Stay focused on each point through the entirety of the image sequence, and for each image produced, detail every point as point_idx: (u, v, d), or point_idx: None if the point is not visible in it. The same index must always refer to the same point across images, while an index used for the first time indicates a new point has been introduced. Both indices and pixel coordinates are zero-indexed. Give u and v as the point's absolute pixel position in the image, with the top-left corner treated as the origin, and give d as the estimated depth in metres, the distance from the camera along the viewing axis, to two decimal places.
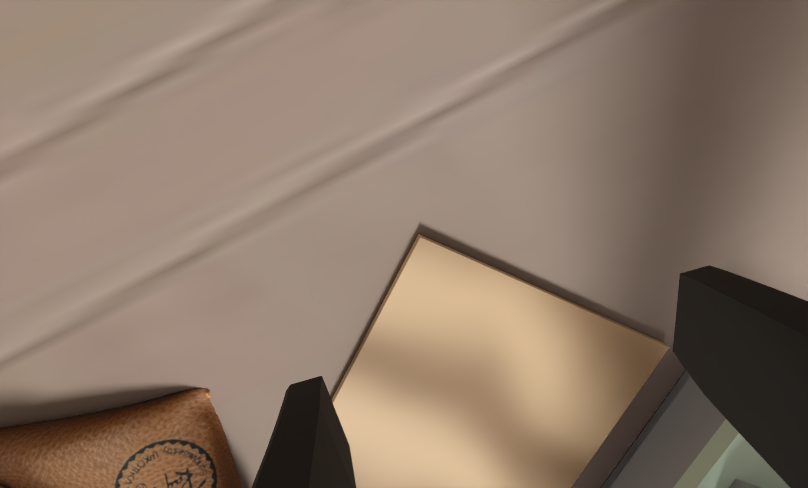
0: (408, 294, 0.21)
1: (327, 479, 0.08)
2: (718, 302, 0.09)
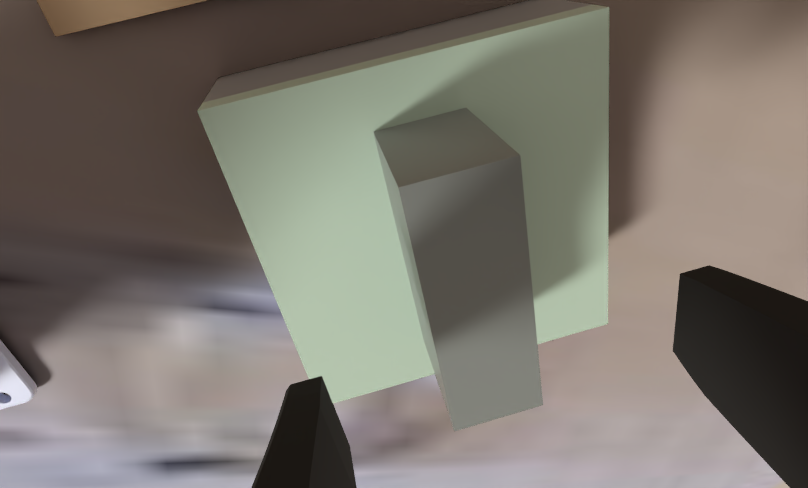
0: None
1: (327, 479, 0.08)
2: (718, 302, 0.09)
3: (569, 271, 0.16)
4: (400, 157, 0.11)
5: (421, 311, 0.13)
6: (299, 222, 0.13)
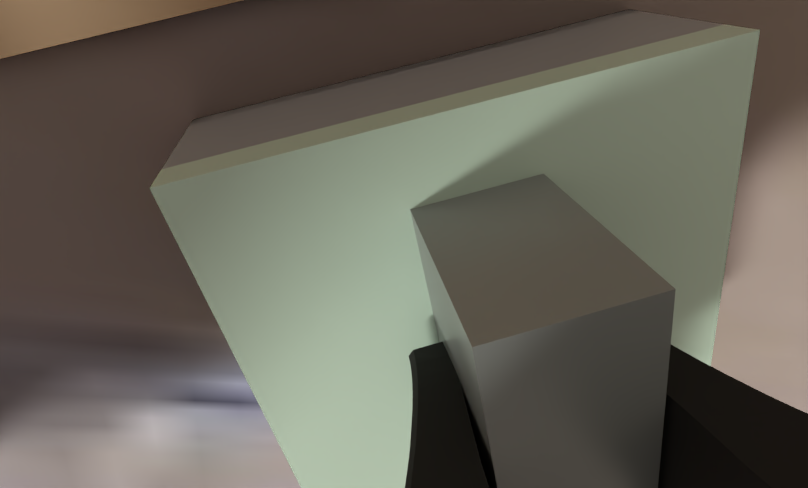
0: None
1: None
2: None
3: None
4: (462, 270, 0.07)
5: None
6: (302, 331, 0.10)
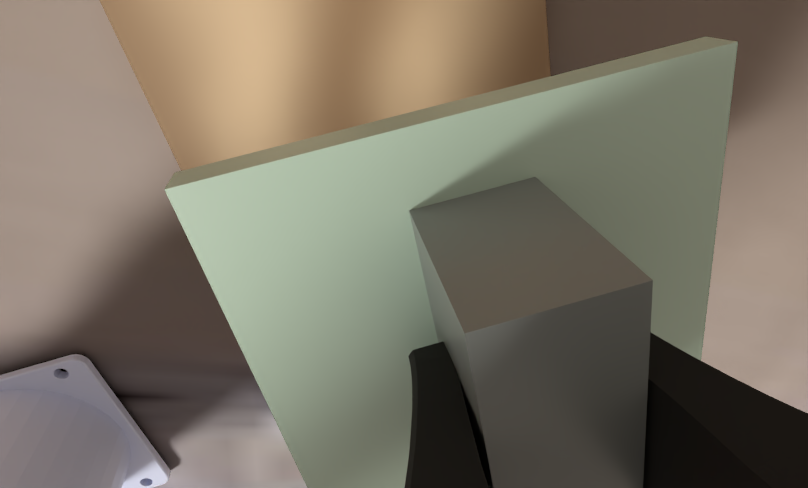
0: None
1: None
2: None
3: None
4: (456, 266, 0.07)
5: None
6: (306, 326, 0.10)
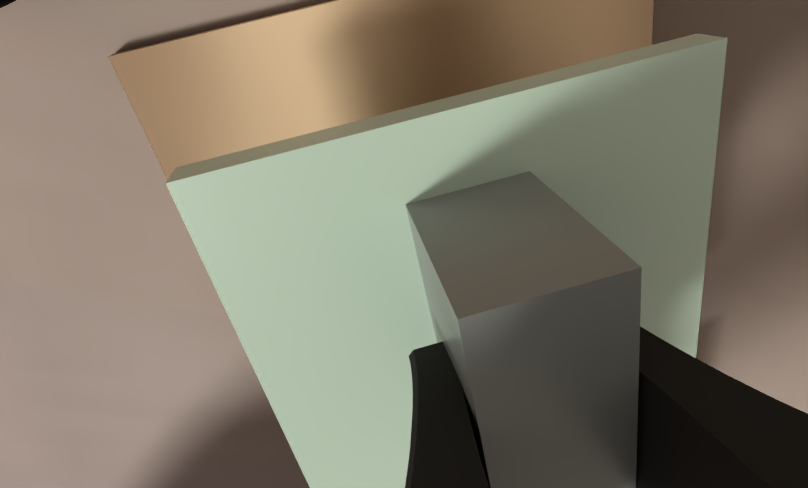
0: None
1: None
2: None
3: None
4: (450, 256, 0.08)
5: None
6: (305, 320, 0.10)
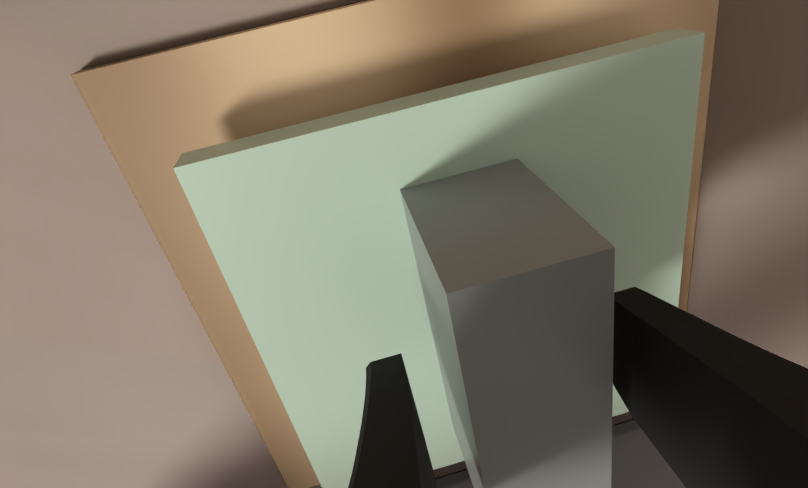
0: None
1: (421, 451, 0.08)
2: (636, 326, 0.09)
3: None
4: (441, 237, 0.08)
5: (458, 414, 0.10)
6: (304, 298, 0.11)
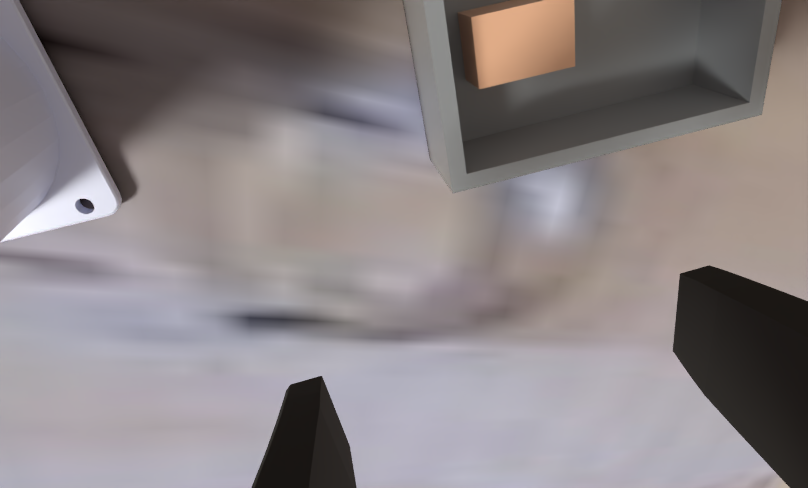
0: None
1: (327, 479, 0.08)
2: (718, 302, 0.09)
3: None
4: None
5: None
6: None
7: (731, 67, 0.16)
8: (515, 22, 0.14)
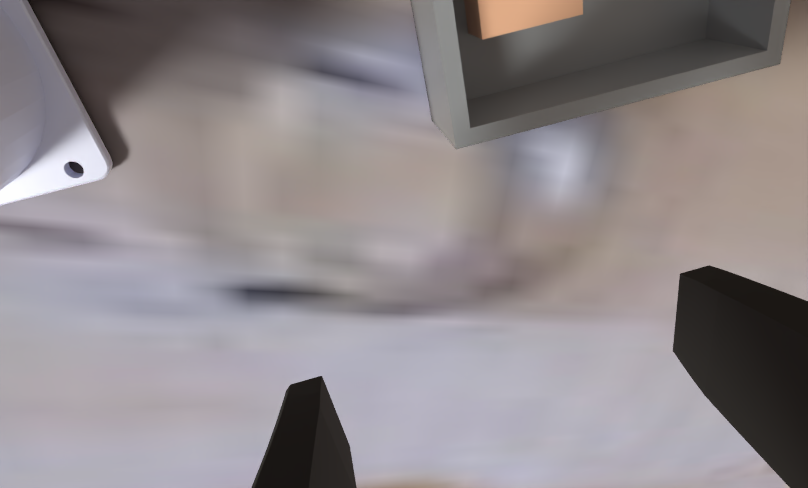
0: None
1: (327, 479, 0.08)
2: (718, 302, 0.09)
3: None
4: None
5: None
6: None
7: (747, 15, 0.15)
8: None
